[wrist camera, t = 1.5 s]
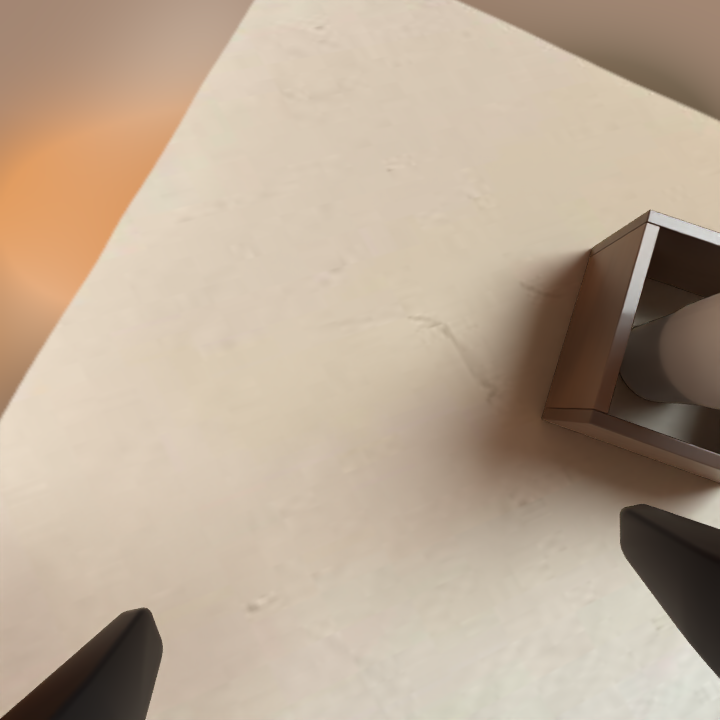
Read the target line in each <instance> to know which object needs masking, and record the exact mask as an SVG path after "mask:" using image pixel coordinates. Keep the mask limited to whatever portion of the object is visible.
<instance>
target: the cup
mask: <svg viewBox="0 0 720 720" xmlns="http://www.w3.org/2000/svg"><path fill="white" fill-rule="evenodd" d="M620 373H621V376H622V378H623V380H624V381H625V383H626V384H627V386H628V387H629V388H630V389H631V390H632V391H633V392H635V393H636V394H637V395H639V396H641V397H642V398H644V399H647V400H650V401H655V402H667V403H681V404H695V405H702V406H705V407H708V408H714V409H720V293H718V294H716V295H713V296H711V297H708V298H705V299H703V300H700V301H697V302H695V303H692V304H689V305H687V306H685V307H683V308H681V309H680V310H678V311H677V312H676V313H673V314H670V315H668V316H665V317H662V318H660V319H657V320H654V321H651V322H649V323H646V324H643V325H640V326H638V327H636V328H634V329H633V330H632V331H631V332H630V335H629V339H628V343H627V346H626V350H625V353H624V357H623V361H622V364H621V368H620Z"/></svg>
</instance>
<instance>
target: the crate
mask: <svg viewBox="0 0 720 720" xmlns="http://www.w3.org/2000/svg"><path fill="white" fill-rule="evenodd" d="M646 277H648V278H651V279H654V280H657V281H660V282H663V283H666V284H669V285H672V286H675V287H678V288H680V289H683V290H686V291H689V292H692V293H695V294H698V295H701V296H704V297H707V298H708V297H711V296H713V295H716V294H718V293H720V233H719V232H716V231H713V230H710V229H707V228H704V227H701V226H698V225H695V224H692V223H689V222H686V221H683V220H680V219H677V218H674V217H671V216H668V215H665V214H662V213H659V212H656V211H653V210H649V211H647V212H646V213H644V214H643V215H641V216H640V217H638V218H637V219H635V220H634V221H632V222H630V223H629V224H627V225H626V226H624V227H623V228H621V229H620V230H618V231H617V232H615V233H614V234H612V235H611V236H609V237H608V238H606V239H605V240H603V241H602V242H600V243H599V244H597V245H596V246H594V247H593V248H592V251H591V254H590V258H589V261H588V264H587V268H586V271H585V274H584V278H583V281H582V284H581V288H580V291H579V294H578V298H577V301H576V304H575V308H574V311H573V314H572V318H571V321H570V324H569V328H568V331H567V334H566V338H565V341H564V344H563V348H562V351H561V354H560V358H559V361H558V364H557V368H556V371H555V374H554V378H553V381H552V385H551V388H550V391H549V395H548V398H547V401H546V405H545V409H544V412H543V415H542V420H545V421H548V422H550V423H553V424H556V425H559V426H562V427H564V428H567V429H570V430H573V431H576V432H578V433H581V434H584V435H587V436H590V437H592V438H595V439H598V440H601V441H603V442H606V443H609V444H612V445H615V446H617V447H620V448H623V449H626V450H629V451H631V452H634V453H637V454H640V455H643V456H645V457H648V458H651V459H654V460H657V461H659V462H662V463H665V464H668V465H671V466H673V467H676V468H679V469H682V470H685V471H687V472H690V473H693V474H696V475H699V476H701V477H704V478H707V479H710V480H713V481H715V482H718V483H720V454H718V453H715V452H712V451H709V450H707V449H704V448H701V447H698V446H695V445H693V444H690V443H687V442H684V441H681V440H679V439H676V438H673V437H670V436H667V435H664V434H662V433H659V432H656V431H653V430H650V429H648V428H645V427H642V426H639V425H636V424H634V423H631V422H628V421H625V420H622V419H619V418H617V417H614V416H611V415H608V414H607V413H608V411H609V407H610V403H611V400H612V396H613V393H614V389H615V386H616V382H617V378H618V375H619V371H620V368H621V364H622V361H623V357H624V353H625V350H626V346H627V343H628V339H629V335H630V332H631V328H632V325H633V321H634V318H635V314H636V310H637V307H638V303H639V300H640V296H641V293H642V289H643V285H644V282H645V278H646Z"/></svg>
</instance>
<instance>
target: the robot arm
mask: <svg viewBox="0 0 720 720" xmlns="http://www.w3.org/2000/svg"><path fill="white" fill-rule="evenodd" d="M620 544H621V548H622V551H623V554H624V555H625V557H626V559H627V560H628V562H629V563H630V564H631V566H632V567H633V568H634V570H635V571H636V572H637V574H638V575H639V576H640V578H641V579H642V581H643V582H644V583H645V585H646V586H647V587H648V589H649V590H650V591H651V593H652V594H653V595H654V597H655V598H656V599H657V601H658V602H659V603H660V605H661V606H662V608H663V609H664V610H665V612H666V613H667V614H668V616H669V617H670V618H671V620H672V621H673V622H674V624H675V625H676V626H677V628H678V629H679V630H680V632H681V633H682V634H683V635H684V637H685V638H686V639H687V641H688V642H689V643H690V644H691V646H692V647H693V648H694V649H695V650H696V652H697V653H698V654H699V655H700V656H701V658H702V659H703V660H704V661H705V662H706V663H707V665H708V666H709V667H710V668H711V669H712V670H713V671H714V673H715V674H716V675H717V676H718V677H719V678H720V529H717V528H714V527H711V526H708V525H705V524H702V523H699V522H696V521H693V520H691V519H688V518H685V517H682V516H679V515H676V514H673V513H670V512H667V511H664V510H661V509H658V508H655V507H652V506H649V505H646V504H639V505H634V506H629V507H625V508H623V509H622V510H621V512H620ZM162 652H163V645H162V640H161V637H160V634H159V632H158V629H157V626H156V624H155V621H154V618H153V616H152V613H151V611H150V610H149V609H148V608H139V609H134V610H129V611H126V612H123V613H121V614H120V615H119V616H118V617H117V618H116V619H114V620H113V621H112V622H111V623H110V624H109V625H107V626H106V627H105V628H104V629H103V630H102V631H101V632H99V633H98V634H97V635H96V636H95V637H94V638H93V639H91V640H90V641H89V642H88V643H87V644H86V645H84V646H83V647H82V648H81V649H80V650H79V651H78V652H76V653H75V654H74V655H73V656H72V657H71V658H70V659H68V660H67V661H66V662H65V663H64V664H63V665H62V666H60V667H59V668H58V669H57V670H56V671H55V672H53V673H52V674H51V675H50V676H49V677H48V678H47V679H45V680H44V681H43V682H42V683H41V684H40V685H39V686H37V687H36V688H35V689H34V690H33V691H32V692H31V693H29V694H28V695H27V696H26V697H25V698H24V699H22V700H21V701H20V702H19V703H18V704H17V705H16V706H14V707H13V708H12V709H11V710H10V711H9V712H8V713H6V714H5V715H4V716H3V717H2V718H1V719H0V720H145V719H146V715H147V712H148V708H149V704H150V700H151V696H152V693H153V689H154V685H155V681H156V677H157V674H158V670H159V666H160V662H161V658H162Z"/></svg>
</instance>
